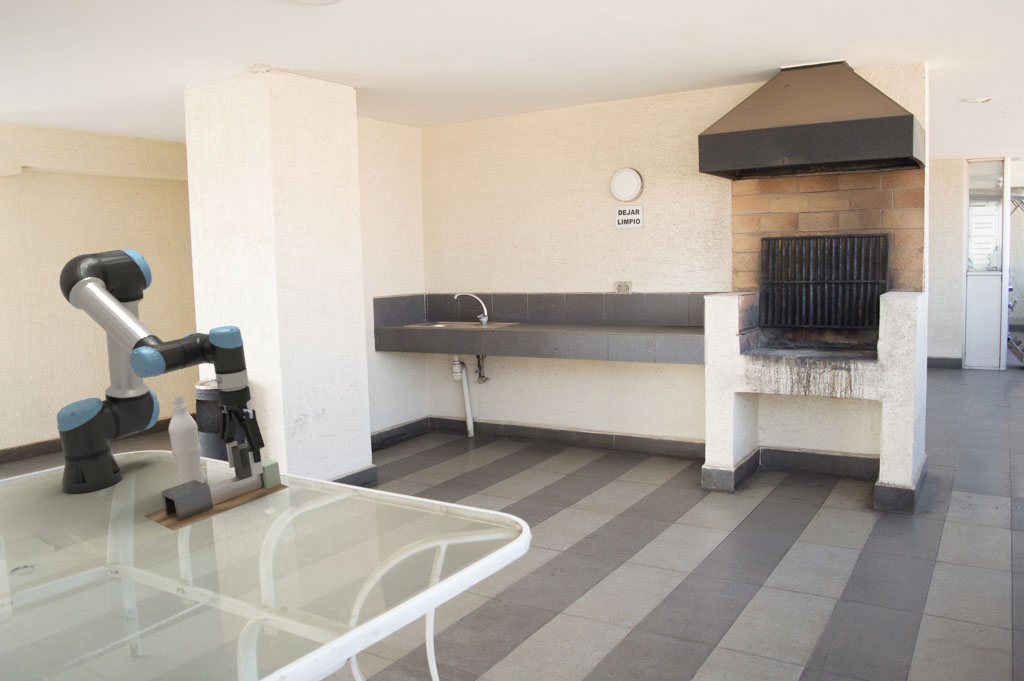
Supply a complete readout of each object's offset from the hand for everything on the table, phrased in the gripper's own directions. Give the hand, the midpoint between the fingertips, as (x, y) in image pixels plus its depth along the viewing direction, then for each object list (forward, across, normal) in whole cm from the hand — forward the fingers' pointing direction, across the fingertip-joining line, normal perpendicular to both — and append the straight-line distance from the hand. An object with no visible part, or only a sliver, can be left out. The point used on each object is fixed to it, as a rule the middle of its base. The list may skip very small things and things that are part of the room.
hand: (246, 470), depth 208 cm
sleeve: (+6, 0, -16) cm, 17 cm away
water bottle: (+7, -18, -6) cm, 20 cm away
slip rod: (+5, 0, -4) cm, 7 cm away
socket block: (+6, 0, +5) cm, 8 cm away
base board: (+6, 0, -8) cm, 11 cm away
